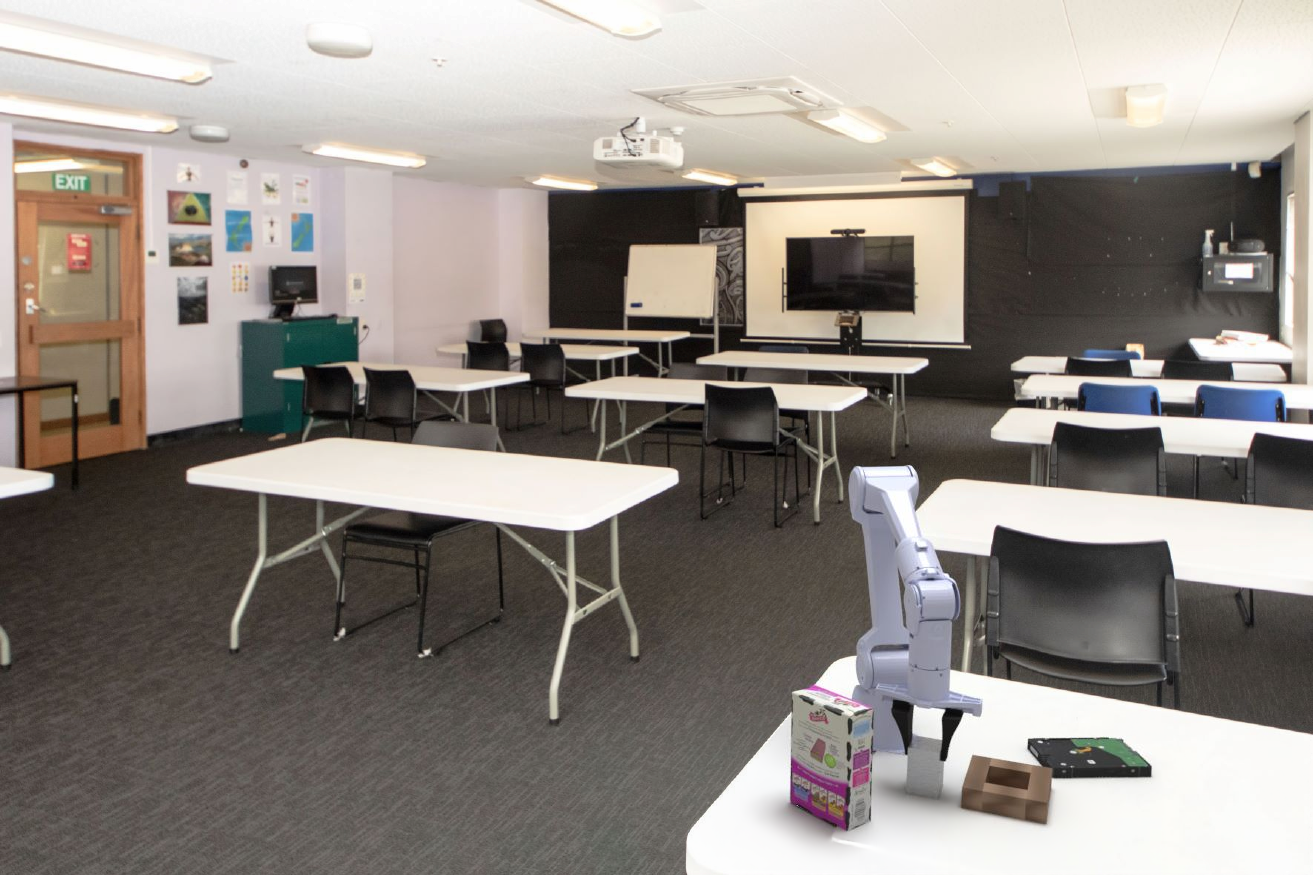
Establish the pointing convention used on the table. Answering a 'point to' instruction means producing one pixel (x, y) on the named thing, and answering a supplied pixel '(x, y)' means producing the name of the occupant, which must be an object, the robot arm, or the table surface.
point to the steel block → (925, 767)
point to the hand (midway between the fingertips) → (926, 755)
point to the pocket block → (1007, 789)
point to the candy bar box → (831, 756)
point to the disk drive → (1088, 757)
